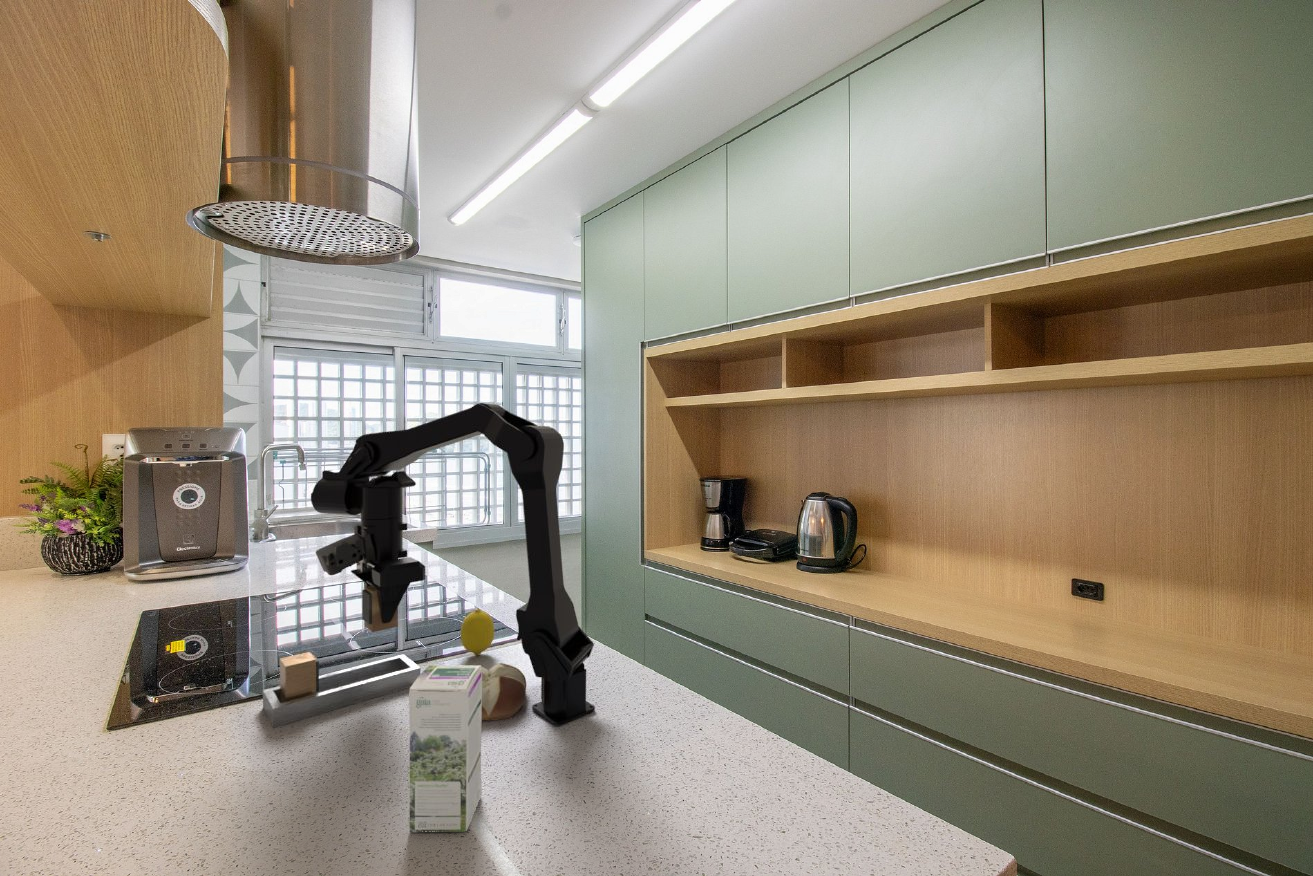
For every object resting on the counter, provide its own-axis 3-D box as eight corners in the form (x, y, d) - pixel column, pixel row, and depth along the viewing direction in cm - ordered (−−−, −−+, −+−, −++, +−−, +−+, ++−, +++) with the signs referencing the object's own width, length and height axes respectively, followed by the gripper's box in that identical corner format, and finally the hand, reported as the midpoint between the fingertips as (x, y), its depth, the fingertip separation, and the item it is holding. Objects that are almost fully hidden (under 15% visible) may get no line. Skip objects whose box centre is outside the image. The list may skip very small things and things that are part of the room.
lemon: (473, 664, 95) (473, 616, 95) (453, 656, 99) (454, 609, 98) (500, 654, 100) (501, 608, 99) (481, 646, 103) (481, 602, 103)
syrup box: (483, 796, 62) (483, 662, 61) (466, 835, 56) (467, 687, 55) (429, 797, 61) (429, 662, 61) (406, 836, 55) (407, 687, 55)
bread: (528, 685, 88) (529, 653, 88) (523, 723, 77) (523, 686, 77) (453, 689, 87) (453, 656, 87) (436, 728, 76) (436, 691, 75)
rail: (420, 684, 88) (420, 638, 88) (273, 727, 75) (273, 674, 75) (403, 669, 93) (403, 626, 93) (263, 708, 80) (262, 658, 80)
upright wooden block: (397, 626, 87) (397, 587, 87) (369, 633, 84) (369, 592, 84) (389, 620, 90) (389, 582, 89) (361, 626, 87) (361, 587, 87)
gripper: (305, 514, 88) (306, 616, 88) (340, 531, 74) (341, 651, 75) (382, 508, 96) (382, 601, 96) (426, 522, 82) (426, 630, 82)
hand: (382, 619), depth 87 cm, fingers closed on upright wooden block, 4 cm apart
